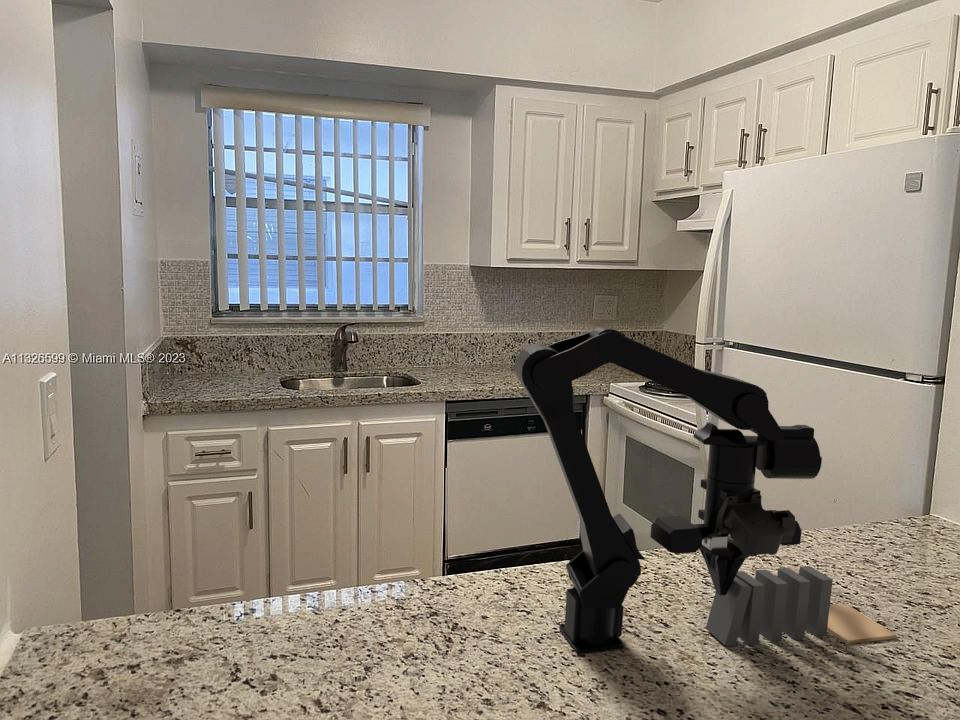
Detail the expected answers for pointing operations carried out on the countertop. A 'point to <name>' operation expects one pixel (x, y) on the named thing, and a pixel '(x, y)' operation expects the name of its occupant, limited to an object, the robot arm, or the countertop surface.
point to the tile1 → (729, 612)
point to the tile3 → (772, 605)
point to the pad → (855, 626)
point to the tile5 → (817, 601)
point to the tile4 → (795, 603)
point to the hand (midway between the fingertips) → (721, 594)
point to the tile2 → (751, 610)
